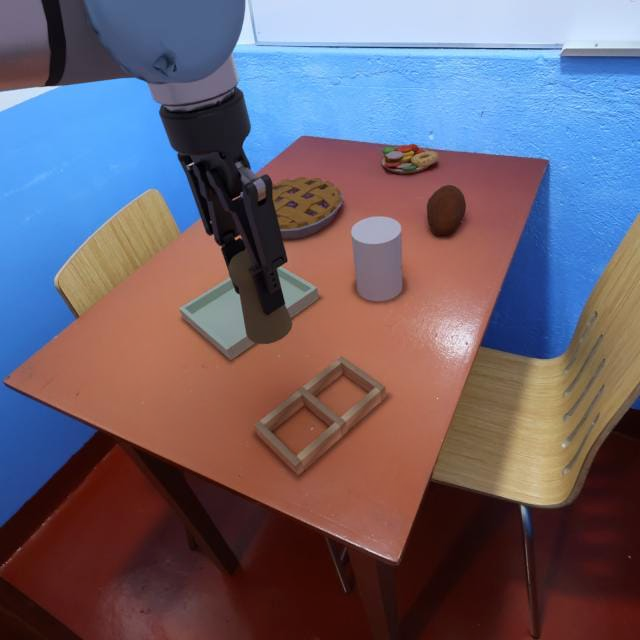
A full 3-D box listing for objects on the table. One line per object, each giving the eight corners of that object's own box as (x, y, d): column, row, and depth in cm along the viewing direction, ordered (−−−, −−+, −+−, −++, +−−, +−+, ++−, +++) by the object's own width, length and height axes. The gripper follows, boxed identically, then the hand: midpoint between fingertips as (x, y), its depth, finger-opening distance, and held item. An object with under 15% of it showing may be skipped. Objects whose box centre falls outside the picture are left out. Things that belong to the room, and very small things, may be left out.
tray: (230, 360, 76) (226, 349, 74) (183, 318, 86) (178, 308, 84) (319, 298, 85) (317, 287, 83) (267, 266, 94) (264, 256, 92)
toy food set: (443, 169, 114) (444, 156, 111) (391, 181, 113) (390, 169, 110) (422, 148, 123) (422, 136, 121) (374, 159, 122) (373, 147, 120)
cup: (411, 288, 83) (411, 230, 75) (373, 307, 81) (369, 250, 73) (384, 267, 89) (381, 211, 81) (348, 284, 86) (341, 228, 78)
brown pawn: (301, 319, 60) (285, 248, 52) (272, 350, 57) (249, 279, 49) (266, 305, 63) (245, 236, 55) (236, 334, 60) (210, 264, 52)
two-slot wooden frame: (298, 476, 60) (295, 466, 58) (257, 435, 65) (253, 425, 63) (386, 397, 67) (385, 386, 65) (343, 366, 72) (341, 355, 70)
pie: (302, 253, 96) (298, 232, 92) (229, 228, 107) (223, 209, 103) (362, 203, 107) (360, 183, 104) (290, 185, 118) (286, 166, 115)
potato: (420, 238, 94) (420, 203, 88) (431, 208, 101) (432, 174, 96) (459, 241, 91) (462, 205, 86) (467, 211, 99) (470, 175, 93)
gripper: (298, 97, 37) (333, 314, 52) (185, 69, 48) (243, 255, 64) (218, 132, 34) (281, 352, 49) (118, 93, 45) (195, 283, 60)
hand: (259, 297), depth 56 cm, fingers closed on brown pawn, 5 cm apart
